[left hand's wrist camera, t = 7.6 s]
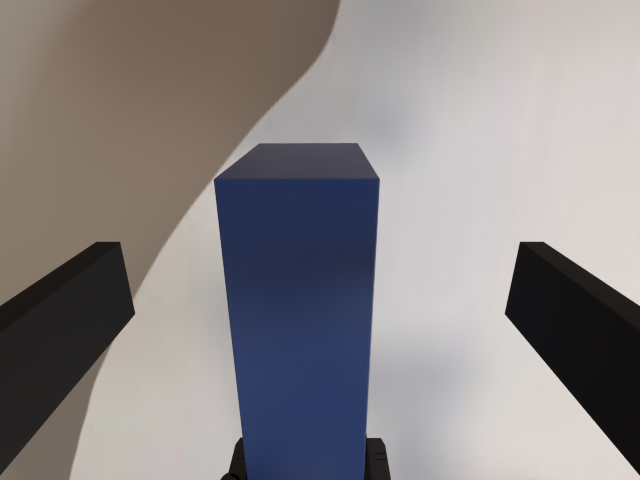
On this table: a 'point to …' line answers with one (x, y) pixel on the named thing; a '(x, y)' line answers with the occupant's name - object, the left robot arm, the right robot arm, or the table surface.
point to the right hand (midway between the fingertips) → (312, 405)
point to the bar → (301, 304)
